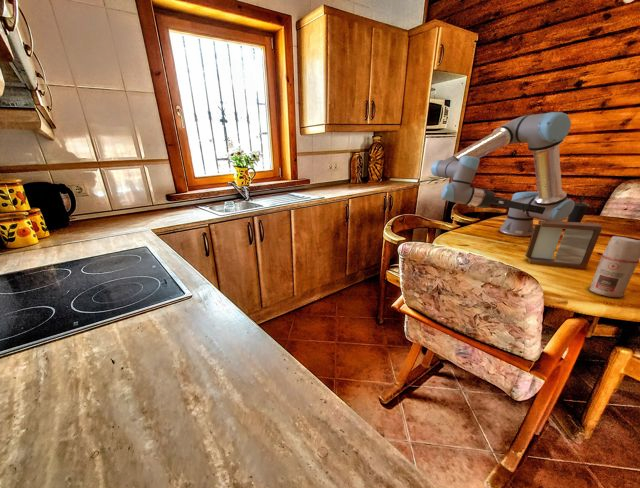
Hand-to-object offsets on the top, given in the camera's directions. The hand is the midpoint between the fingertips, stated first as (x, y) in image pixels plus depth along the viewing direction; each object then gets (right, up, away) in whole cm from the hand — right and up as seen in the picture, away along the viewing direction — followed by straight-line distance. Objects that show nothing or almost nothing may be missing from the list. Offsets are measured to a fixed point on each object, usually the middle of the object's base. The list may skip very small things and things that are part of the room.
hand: (534, 209), depth 117 cm
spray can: (+5, -34, -21) cm, 40 cm away
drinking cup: (+61, -2, +44) cm, 76 cm away
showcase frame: (+9, -23, +2) cm, 25 cm away
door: (+5, -21, +4) cm, 22 cm away
